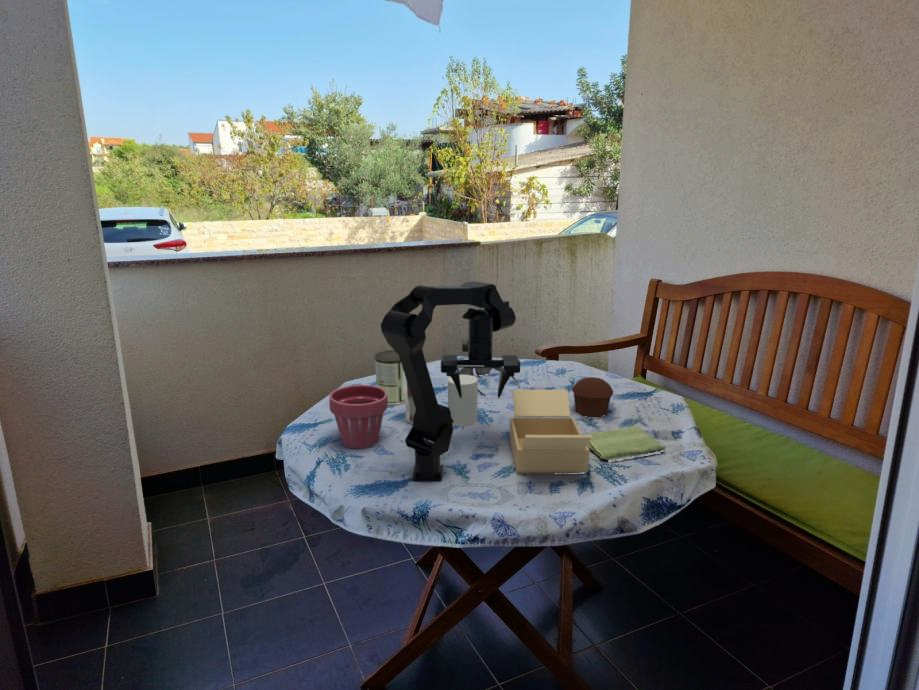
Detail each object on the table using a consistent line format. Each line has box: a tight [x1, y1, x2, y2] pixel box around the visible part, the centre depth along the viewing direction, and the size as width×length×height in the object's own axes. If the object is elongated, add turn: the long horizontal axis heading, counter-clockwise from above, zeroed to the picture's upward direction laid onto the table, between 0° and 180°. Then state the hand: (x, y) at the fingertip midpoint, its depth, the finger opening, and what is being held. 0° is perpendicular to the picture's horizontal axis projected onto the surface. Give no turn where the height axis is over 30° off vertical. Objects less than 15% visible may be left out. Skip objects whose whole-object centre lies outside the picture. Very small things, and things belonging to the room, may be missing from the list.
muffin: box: [571, 376, 614, 418], centre depth 158 cm, size 12×11×10 cm
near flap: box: [522, 434, 592, 449], centre depth 120 cm, size 7×14×1 cm
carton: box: [509, 417, 591, 475], centre depth 132 cm, size 18×16×6 cm
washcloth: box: [586, 425, 666, 460], centre depth 137 cm, size 13×18×3 cm
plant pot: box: [329, 384, 389, 450], centre depth 139 cm, size 14×14×13 cm
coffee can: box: [374, 349, 405, 406], centre depth 167 cm, size 10×10×14 cm
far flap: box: [512, 389, 571, 418], centre depth 141 cm, size 7×14×1 cm
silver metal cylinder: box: [402, 369, 416, 425], centre depth 151 cm, size 7×7×15 cm
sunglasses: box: [459, 368, 520, 397], centre depth 180 cm, size 16×17×5 cm
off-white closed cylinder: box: [447, 375, 479, 427], centre depth 152 cm, size 8×8×12 cm
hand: (479, 397), depth 134 cm, fingers open, 9 cm apart
